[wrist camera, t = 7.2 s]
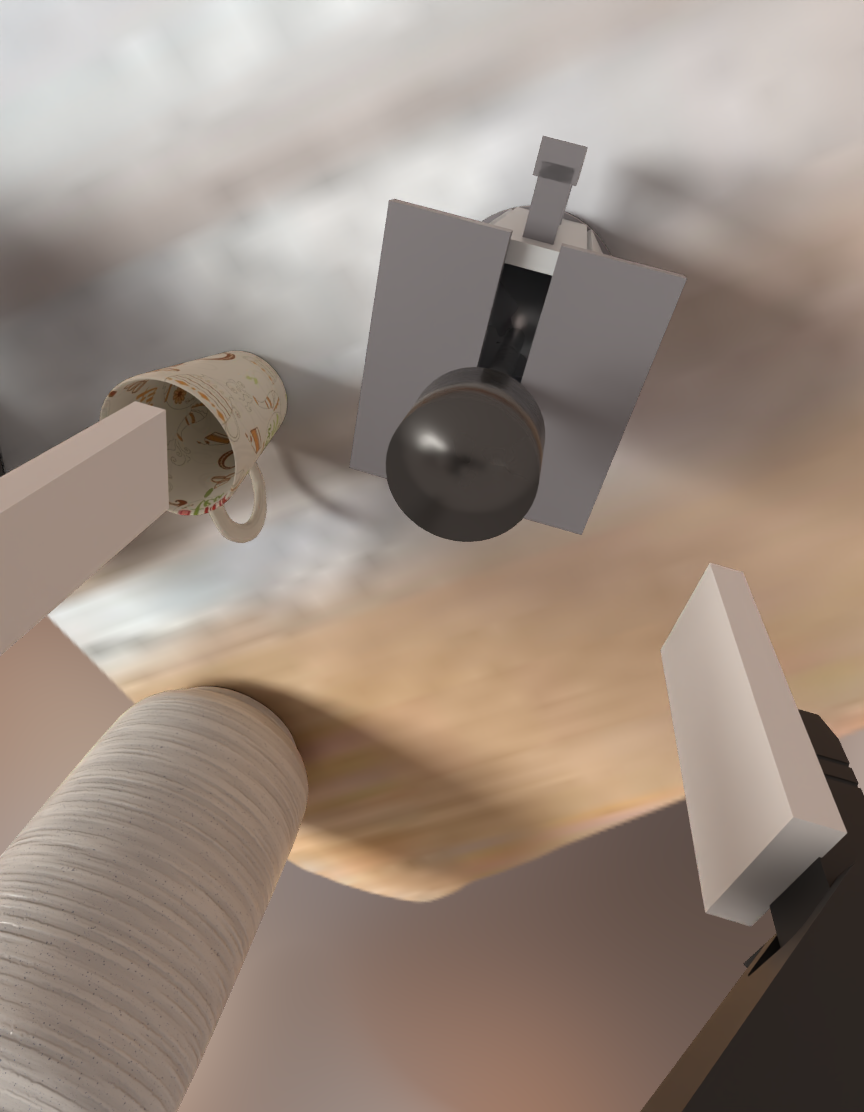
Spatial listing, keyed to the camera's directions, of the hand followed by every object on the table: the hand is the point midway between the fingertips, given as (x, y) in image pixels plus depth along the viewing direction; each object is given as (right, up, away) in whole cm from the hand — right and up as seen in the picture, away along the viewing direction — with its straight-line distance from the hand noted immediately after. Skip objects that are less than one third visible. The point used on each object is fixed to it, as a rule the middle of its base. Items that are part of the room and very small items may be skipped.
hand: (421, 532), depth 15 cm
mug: (-12, +9, +30) cm, 33 cm away
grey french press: (+6, +15, +21) cm, 27 cm away
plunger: (+4, +11, +17) cm, 20 cm away
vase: (-20, -19, +49) cm, 57 cm away
